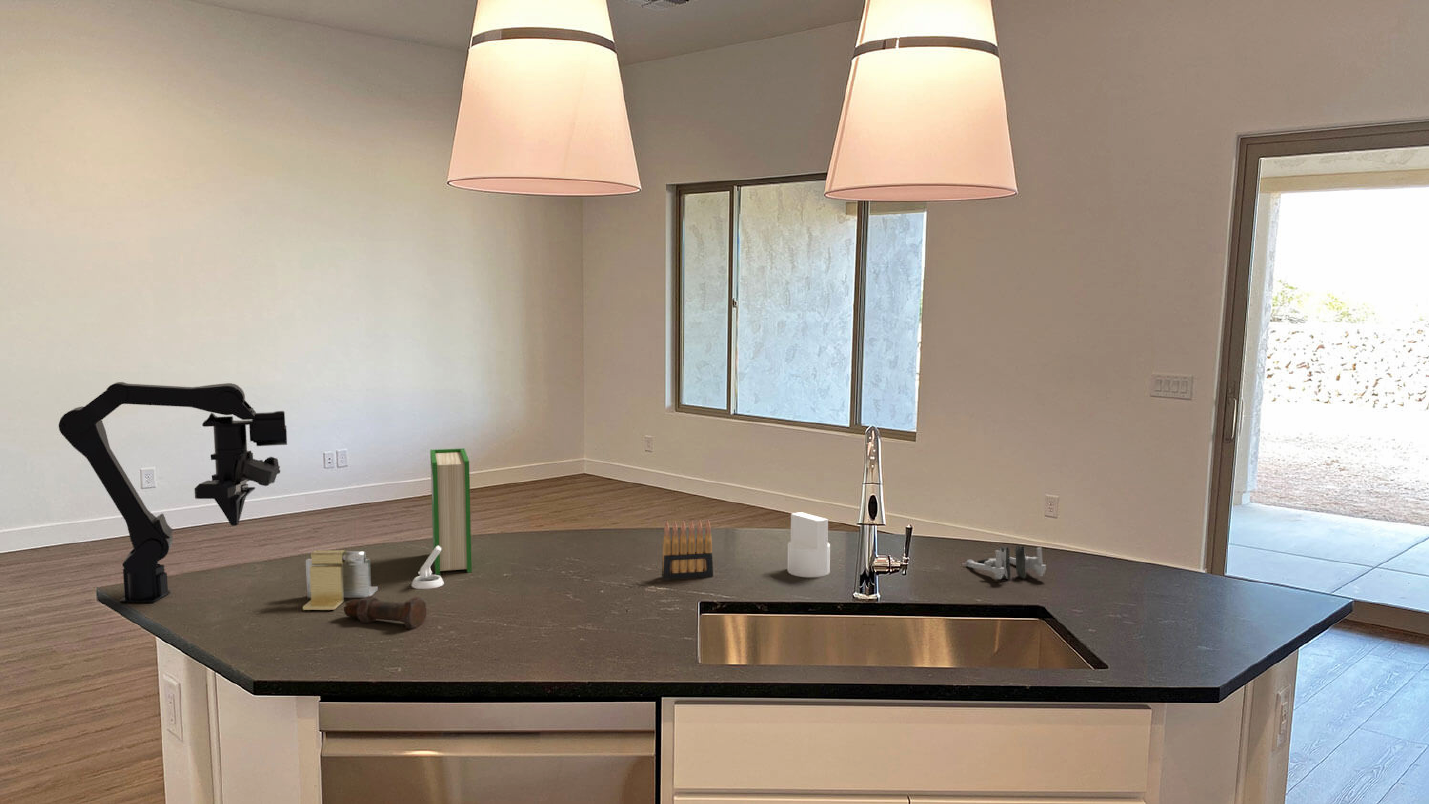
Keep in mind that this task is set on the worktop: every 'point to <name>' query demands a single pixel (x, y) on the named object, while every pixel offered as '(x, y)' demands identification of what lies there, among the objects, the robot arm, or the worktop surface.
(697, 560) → the ammunition clip
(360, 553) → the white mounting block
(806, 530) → the cylinder with rectangular tab
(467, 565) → the hardback book
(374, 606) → the bolt
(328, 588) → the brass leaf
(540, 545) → the worktop surface
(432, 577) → the hook
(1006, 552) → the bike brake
